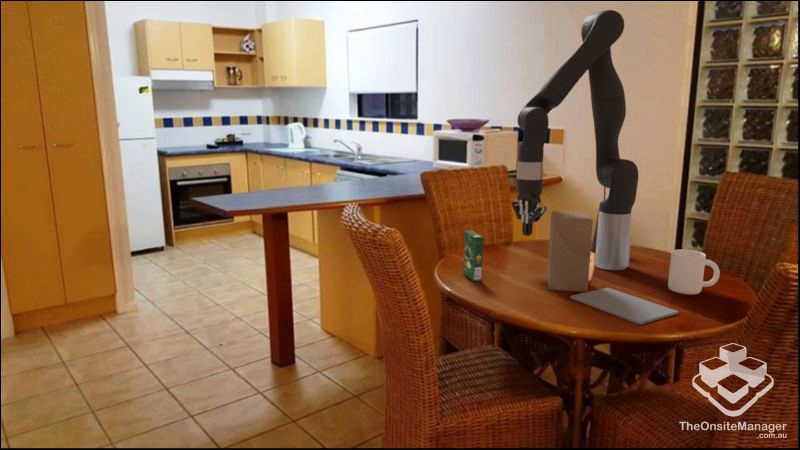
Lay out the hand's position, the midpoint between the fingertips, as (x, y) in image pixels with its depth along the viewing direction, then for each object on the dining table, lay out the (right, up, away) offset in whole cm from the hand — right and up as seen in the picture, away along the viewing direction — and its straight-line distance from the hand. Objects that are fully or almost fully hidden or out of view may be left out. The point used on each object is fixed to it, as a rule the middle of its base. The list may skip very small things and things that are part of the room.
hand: (526, 235), depth 170 cm
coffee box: (-17, -12, -5) cm, 21 cm away
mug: (+41, -15, -16) cm, 46 cm away
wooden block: (+8, -14, -12) cm, 20 cm away
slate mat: (+18, -17, -28) cm, 37 cm away
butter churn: (+31, -6, +25) cm, 40 cm away
